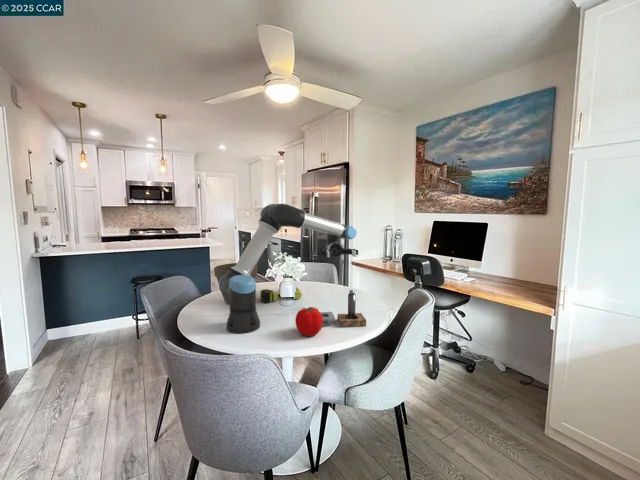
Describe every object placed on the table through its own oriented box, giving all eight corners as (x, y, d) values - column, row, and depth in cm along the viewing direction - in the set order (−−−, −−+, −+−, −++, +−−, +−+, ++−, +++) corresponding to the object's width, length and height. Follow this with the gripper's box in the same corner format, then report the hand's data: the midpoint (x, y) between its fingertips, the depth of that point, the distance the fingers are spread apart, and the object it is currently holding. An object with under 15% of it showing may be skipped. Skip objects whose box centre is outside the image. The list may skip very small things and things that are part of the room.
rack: (340, 327, 138) (341, 321, 137) (337, 319, 148) (337, 313, 147) (366, 326, 139) (366, 320, 139) (361, 318, 149) (361, 313, 149)
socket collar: (314, 324, 141) (314, 319, 141) (312, 317, 151) (312, 312, 151) (335, 323, 142) (335, 318, 142) (332, 316, 152) (332, 311, 152)
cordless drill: (256, 293, 197) (293, 290, 205) (262, 304, 174) (303, 300, 182) (256, 282, 196) (293, 280, 205) (262, 293, 173) (303, 289, 181)
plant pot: (212, 309, 164) (211, 270, 162) (217, 297, 187) (216, 263, 186) (258, 306, 169) (258, 268, 168) (257, 294, 193) (257, 261, 191)
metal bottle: (348, 324, 141) (348, 291, 140) (347, 321, 145) (347, 289, 143) (356, 324, 142) (356, 291, 140) (354, 321, 145) (354, 289, 144)
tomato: (290, 337, 126) (290, 310, 125) (301, 326, 139) (301, 302, 138) (318, 340, 123) (318, 313, 122) (326, 329, 136) (326, 304, 135)
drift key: (313, 328, 136) (313, 326, 136) (312, 327, 138) (312, 325, 138) (329, 326, 139) (329, 324, 139) (328, 324, 141) (328, 323, 141)
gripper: (356, 255, 172) (366, 261, 151) (313, 256, 170) (317, 262, 149) (356, 242, 172) (366, 246, 151) (313, 243, 169) (317, 247, 148)
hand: (342, 254), depth 150 cm, fingers open, 13 cm apart
